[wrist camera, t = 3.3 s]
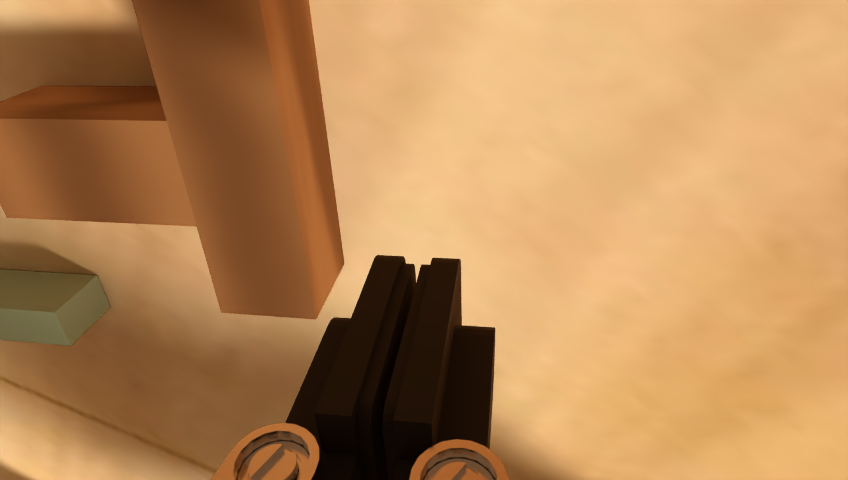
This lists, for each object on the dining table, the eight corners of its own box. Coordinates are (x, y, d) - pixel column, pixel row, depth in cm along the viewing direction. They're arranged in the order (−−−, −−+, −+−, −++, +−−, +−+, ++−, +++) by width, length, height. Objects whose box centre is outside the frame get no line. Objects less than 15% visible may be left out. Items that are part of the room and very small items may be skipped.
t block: (304, -30, 19) (256, -14, 16) (344, 263, 25) (316, 319, 22) (0, -21, 21) (-101, -5, 18) (106, 250, 27) (46, 300, 24)
